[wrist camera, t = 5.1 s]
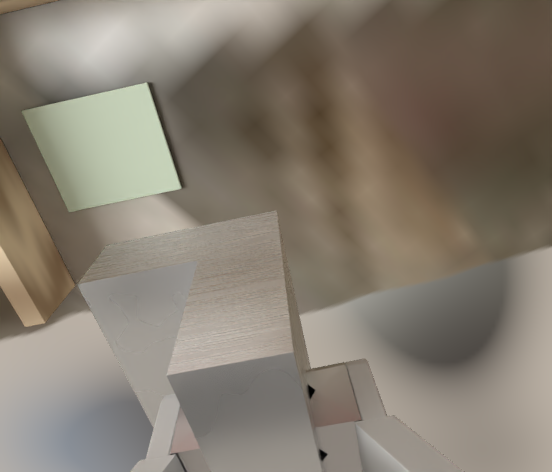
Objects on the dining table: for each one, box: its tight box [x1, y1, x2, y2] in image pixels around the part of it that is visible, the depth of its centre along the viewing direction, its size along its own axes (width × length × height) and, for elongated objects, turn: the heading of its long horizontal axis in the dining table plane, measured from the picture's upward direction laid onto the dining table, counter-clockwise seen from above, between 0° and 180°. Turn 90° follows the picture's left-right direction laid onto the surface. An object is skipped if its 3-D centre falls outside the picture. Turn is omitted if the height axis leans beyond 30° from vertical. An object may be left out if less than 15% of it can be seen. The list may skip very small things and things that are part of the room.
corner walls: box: [0, 0, 75, 327], centre depth 20 cm, size 17×16×4 cm
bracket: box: [77, 211, 324, 472], centre depth 10 cm, size 7×5×6 cm
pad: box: [21, 82, 182, 212], centre depth 22 cm, size 6×7×1 cm
